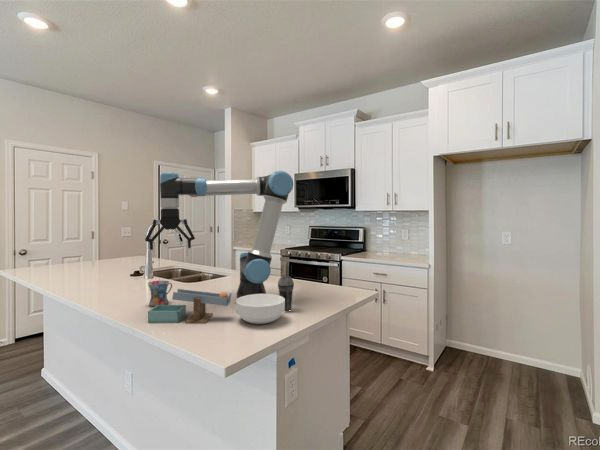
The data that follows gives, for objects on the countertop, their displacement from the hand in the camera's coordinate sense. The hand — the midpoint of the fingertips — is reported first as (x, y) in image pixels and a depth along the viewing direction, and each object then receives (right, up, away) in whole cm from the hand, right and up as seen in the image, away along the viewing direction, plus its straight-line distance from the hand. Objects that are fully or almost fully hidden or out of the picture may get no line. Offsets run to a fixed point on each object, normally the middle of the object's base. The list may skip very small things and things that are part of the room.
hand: (171, 256), depth 145 cm
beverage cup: (+51, -24, +2) cm, 56 cm away
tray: (+3, -24, -11) cm, 27 cm away
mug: (-9, -24, +11) cm, 27 cm away
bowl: (+41, -25, -12) cm, 49 cm away
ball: (+26, -15, -11) cm, 32 cm away
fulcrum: (+16, -24, -11) cm, 31 cm away
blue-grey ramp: (+17, -17, -7) cm, 25 cm away
